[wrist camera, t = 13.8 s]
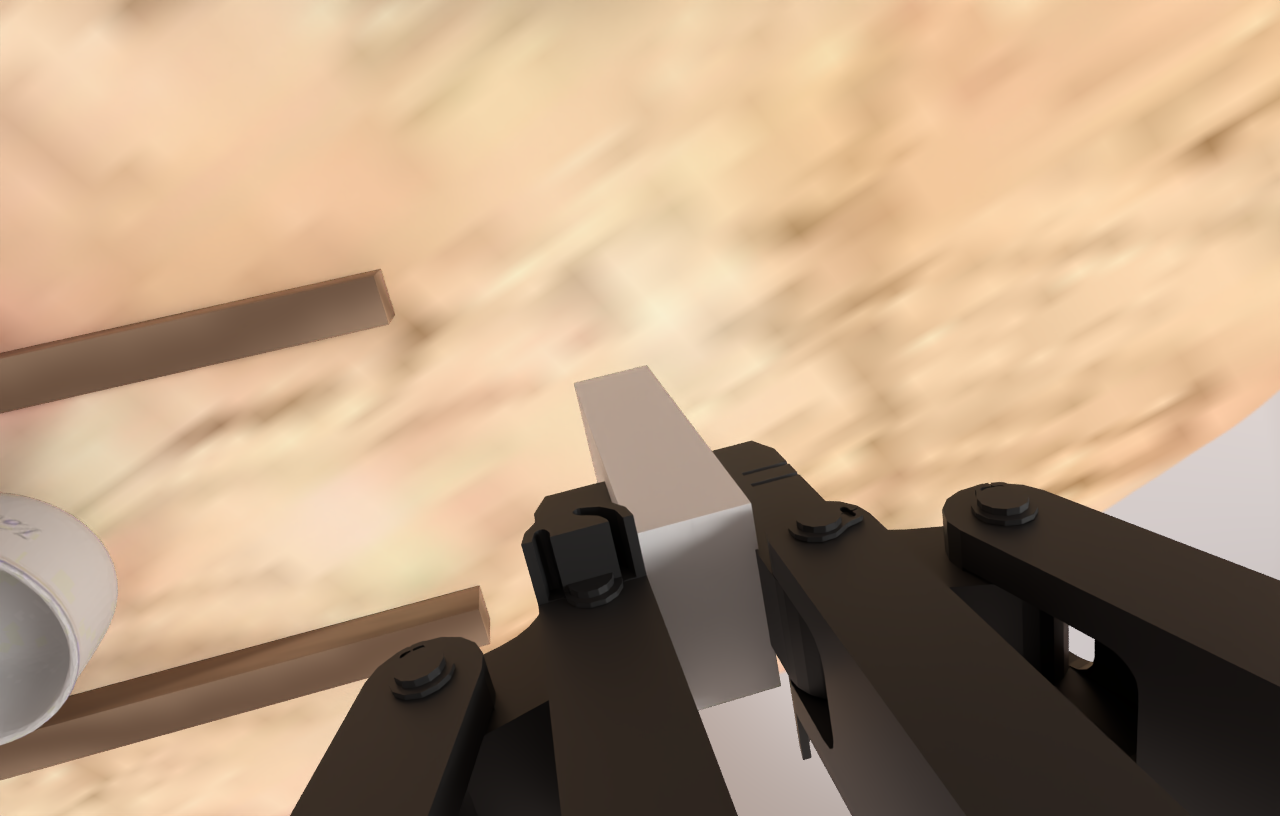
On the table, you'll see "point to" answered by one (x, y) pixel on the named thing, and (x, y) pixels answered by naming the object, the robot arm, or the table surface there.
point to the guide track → (258, 669)
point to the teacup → (47, 609)
